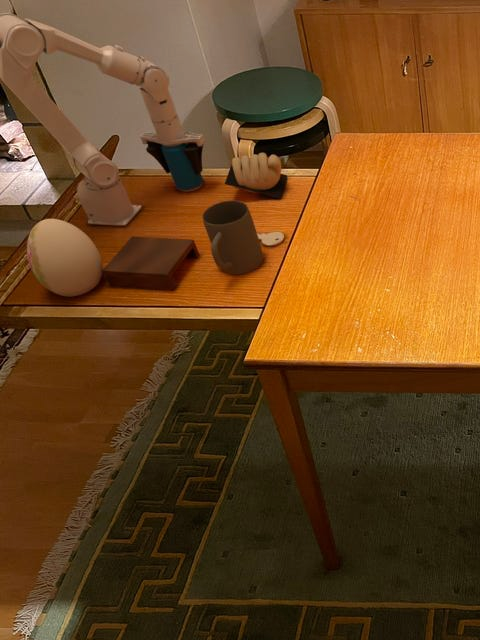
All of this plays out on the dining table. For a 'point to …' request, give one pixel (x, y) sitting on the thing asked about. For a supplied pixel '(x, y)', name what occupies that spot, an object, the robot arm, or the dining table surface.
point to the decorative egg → (63, 258)
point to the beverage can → (181, 167)
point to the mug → (233, 237)
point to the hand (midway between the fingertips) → (184, 171)
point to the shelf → (149, 262)
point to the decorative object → (257, 175)
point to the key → (271, 238)
